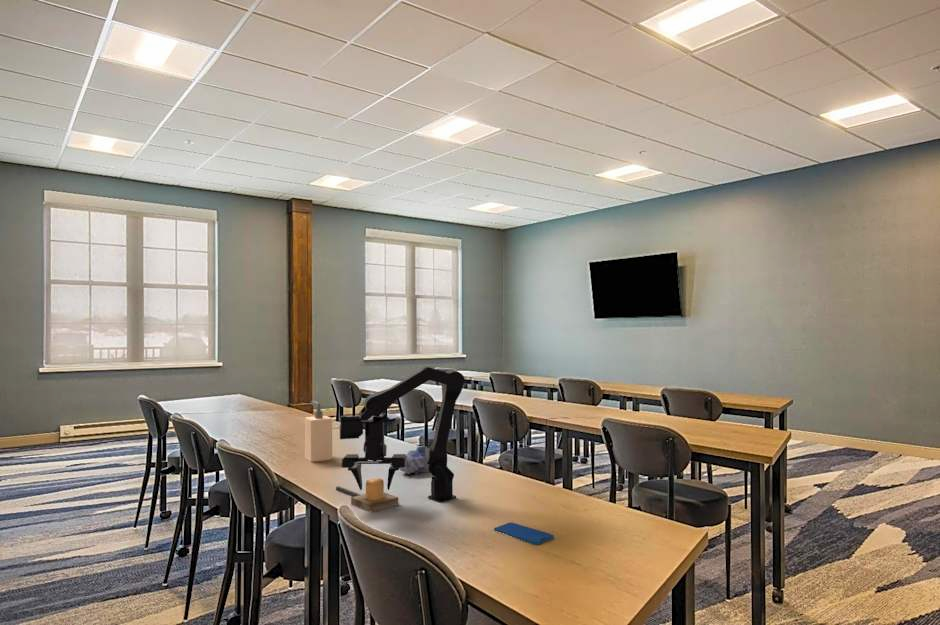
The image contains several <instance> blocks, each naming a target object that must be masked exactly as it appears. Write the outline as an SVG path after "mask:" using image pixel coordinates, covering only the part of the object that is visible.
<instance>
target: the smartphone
mask: <svg viewBox="0 0 940 625" xmlns="http://www.w3.org/2000/svg"><path fill="white" fill-rule="evenodd" d="M494 530H495V532H496V531H498V532H497V533H499V532H501V533H500V534H502V533H504V534H503V535H505V534H507V535H509V536H508V537H510V536H512V537H511V538H513V537H515V538H514V539H516V538H517V539H516V540H518V539H520V540H519V541H521V540H522V542H524V541H525V543H527V542H528V544H530V543H531V545H534V546H539V545H542V544H543V543H546V541H547V542H549V541H551V540H553V539H554V534H553V533H552V534H551V533H549V532H545V531H542V530H539V529H535V528H531V527H529V526H525V525H521V524H518V523H515V522H508V523H504V524H501V525H499V526H497V527H496V526H495V527H494V528H493V531H494ZM507 535H506V536H507Z"/></svg>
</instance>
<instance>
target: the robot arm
mask: <svg viewBox="0 0 940 625" xmlns="http://www.w3.org/2000/svg"><path fill="white" fill-rule="evenodd" d="M465 380H466V379H465V376H464V375H463V374H462V373H461V372H460V371H457V370H454V369H449V370H446V371H444V370H440V369H436V368H432V367H430V366H427V365H426V366H423V367H422V368H421V369H419V370H418V371H416V372H415V373H414V372H413V374H411V375H409V376H408V377H405V378H404V379H403V380H401V381H400V382H397V383H396V384H393V386H391V387H389V388H387V389H383V390H381V391H377V392H375V393H372V394H369V395H368V396H367V397H366V398H365V399H364V403H363V407H362V409H361V410H360V411H359V413H358V414H357V415H340V417H339V418H340V423H339V424H340V425H339V440H351V439H354V440H355V439H360V437H361V436H362V435H364V442H363V453H364V457H363V456H362V457H360V456H359V453H357V454H355V453H350V454H346V455H345V456H344V457H343V458H342V459H341V468H344V469H347V471H351V474H352V475H353V477H354V479H355V481H356V483H357V486H358V488H359V490H360V491H362V489H363V478H362V465H390V466H389V468H388V474H387V484H386V485H387V486H386V488H387V491H390V489H391V485H392V482H393V478H394V475H395V473H396V471H399V470H400V468H403V467H405V466H406V464H407V456H406V453H405V454H404V453H396V454H395V453H394V454H393V455H392V456H390V457H388V456H387V448H388V447H387V444H386V443H385V423H391V422H392V420H391V419H390V418H389V417H388V415H387V414H386V413H385V411H387V410H388V409H389V408H390V406H392V405H393V404H394V403H395V402H396V401H397V400H399V399H401V398H402V397H403V396H405V395H407V394H409V393H410V392H412V391H413V390H415V389H417V388H418V387H420V386H421V385H423V384H425V383H427V382H428V381H432V382H435V383H439V384H441V392H442V393H441V396H442V399H441V402H440V408H439V414H438V418H437V423H436V428H435V432H434V437H433V442H432V444H431V445H430V447H428V446H426V449H425V456H424V458H423V460H424V461H425V466H426V468H427V469H428V472H429V473H430V475H432V476H431V481H430V483H431V484H430V488H431V489H430V491H431V492H430V494H431V495H428V496H427V498H428V499H430V500H433V501H437V502H439V503H443V502H446V501H450V500H453V499H457V495H453V493H454V492H453V491H454V490H453V488H454V487H453V481H454V480H453V479H454V478H455V473H454V472H453V471H452V470H451V469H450V468H449V467H448V449H447V445H448V440H449V436H450V430H451V427H452V422H453V416H454V411H455V408H456V403H457V400H458V398H459V397H460V395H461V394H462V391H463V388H464V385H465V382H466V381H465ZM386 456H387V457H386Z"/></svg>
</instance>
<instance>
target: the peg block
mask: <svg viewBox="0 0 940 625" xmlns="http://www.w3.org/2000/svg"><path fill="white" fill-rule="evenodd" d="M350 504H351V505H353V506H355V507H357V506H358V507H357V508H359V507H361V508H360V509H362V508H363V509H362V510H364V509H366V510H365V511H367V510H368V511H367V512H369V511H372V512H375V511H374V510H376V511H379V510H382V508H383V509H385V508H389V507H390V508H391V507H393V506H396V505H399V496H395V495H393V494H390V493H387V492H384V497H383V498H382V499H379V500H369V499H366V493H363V494H361V495H359V496H355V497H353V496H350ZM378 509H379V510H378Z"/></svg>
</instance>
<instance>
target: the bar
mask: <svg viewBox="0 0 940 625" xmlns="http://www.w3.org/2000/svg"><path fill="white" fill-rule="evenodd" d="M335 490H336V491H338V492H340V493H343V494H345V495H347V496H350V497H355V496H359V495H362V494H360V493H359V492H358V493H357V492H354V491H352V490H350V489H347V488H345V487H342V486H339V485H338V486H336V487H335Z"/></svg>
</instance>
